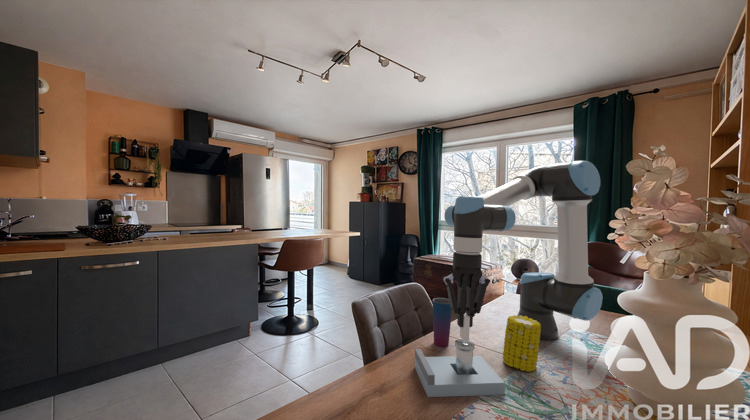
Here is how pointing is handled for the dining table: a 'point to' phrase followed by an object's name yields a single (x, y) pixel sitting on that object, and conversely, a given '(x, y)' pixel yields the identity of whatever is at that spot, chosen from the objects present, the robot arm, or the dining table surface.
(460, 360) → the silver metal cylinder
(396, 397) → the dining table surface
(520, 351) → the food
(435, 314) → the cup
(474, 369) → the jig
